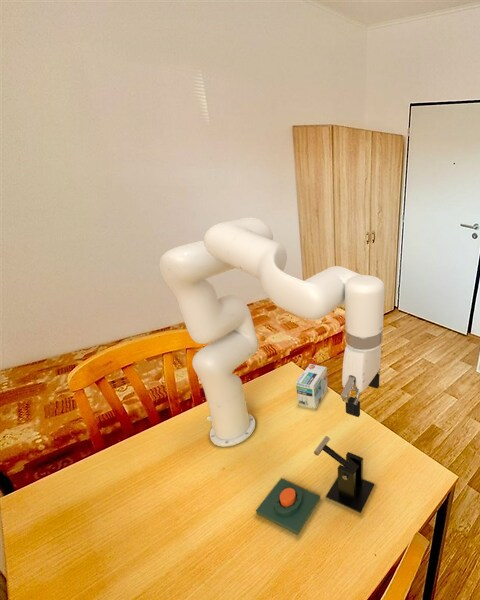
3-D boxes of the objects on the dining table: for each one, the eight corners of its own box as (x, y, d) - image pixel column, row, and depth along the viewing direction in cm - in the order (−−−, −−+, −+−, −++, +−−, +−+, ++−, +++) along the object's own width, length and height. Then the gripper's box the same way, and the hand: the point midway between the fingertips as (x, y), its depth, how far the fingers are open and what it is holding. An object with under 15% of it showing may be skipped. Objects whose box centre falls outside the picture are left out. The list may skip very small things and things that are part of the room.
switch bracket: (326, 499, 81) (324, 468, 76) (342, 472, 88) (341, 443, 83) (360, 515, 78) (361, 484, 73) (374, 486, 85) (375, 456, 80)
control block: (256, 515, 77) (254, 505, 75) (281, 483, 84) (280, 473, 83) (298, 537, 73) (296, 527, 71) (320, 501, 81) (319, 491, 79)
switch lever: (312, 454, 78) (315, 449, 77) (323, 438, 82) (326, 434, 81) (348, 481, 77) (352, 477, 76) (358, 464, 81) (361, 460, 80)
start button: (277, 503, 76) (276, 498, 75) (287, 490, 79) (286, 485, 78) (289, 509, 75) (288, 504, 74) (299, 495, 78) (298, 491, 77)
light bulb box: (315, 410, 108) (314, 386, 103) (297, 406, 109) (294, 382, 104) (328, 389, 117) (327, 366, 113) (311, 386, 118) (309, 362, 114)
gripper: (366, 313, 73) (365, 372, 80) (324, 353, 58) (328, 421, 66) (396, 320, 71) (392, 381, 78) (361, 364, 56) (360, 433, 63)
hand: (363, 399), depth 72 cm, fingers open, 9 cm apart
